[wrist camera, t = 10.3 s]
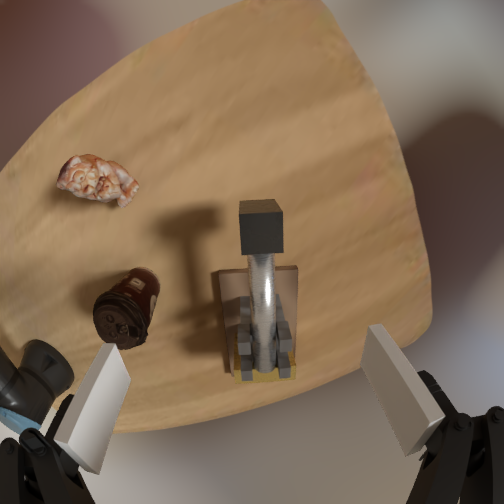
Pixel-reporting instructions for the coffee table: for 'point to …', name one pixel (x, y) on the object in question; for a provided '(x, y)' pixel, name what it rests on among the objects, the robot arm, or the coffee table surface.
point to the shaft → (262, 273)
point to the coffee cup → (127, 309)
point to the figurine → (97, 180)
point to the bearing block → (239, 317)
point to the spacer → (257, 375)
